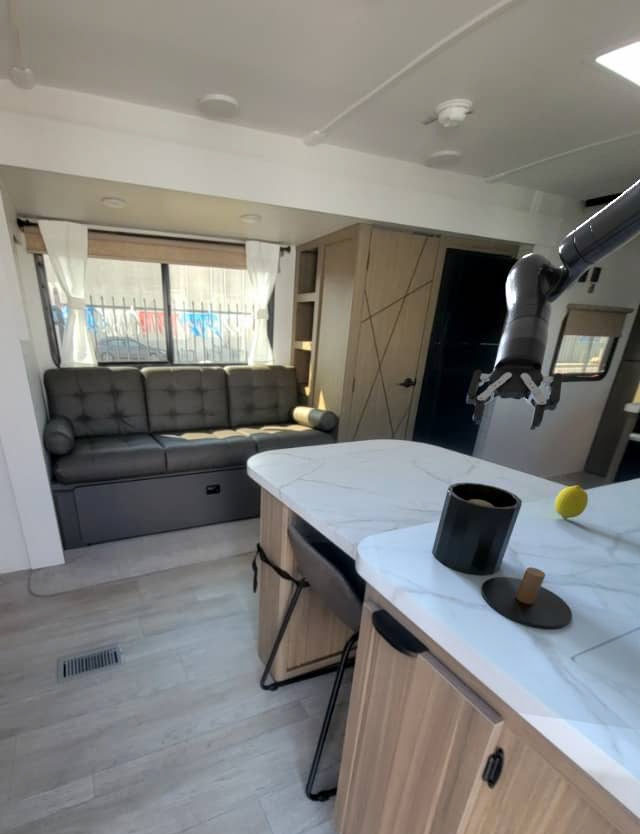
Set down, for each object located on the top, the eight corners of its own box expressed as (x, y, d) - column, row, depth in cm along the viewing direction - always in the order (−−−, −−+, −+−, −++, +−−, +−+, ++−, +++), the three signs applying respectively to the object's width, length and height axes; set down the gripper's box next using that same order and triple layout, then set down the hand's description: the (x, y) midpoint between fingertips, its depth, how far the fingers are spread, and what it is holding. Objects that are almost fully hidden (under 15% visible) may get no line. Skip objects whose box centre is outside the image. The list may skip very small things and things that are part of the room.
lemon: (546, 517, 91) (558, 484, 87) (554, 511, 94) (566, 479, 90) (575, 526, 87) (589, 492, 83) (582, 519, 90) (596, 486, 87)
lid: (545, 587, 67) (558, 555, 64) (586, 637, 56) (604, 601, 53) (469, 579, 68) (479, 547, 65) (496, 626, 58) (509, 591, 55)
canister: (485, 548, 78) (505, 485, 72) (508, 581, 68) (534, 511, 62) (425, 542, 79) (441, 480, 73) (440, 574, 69) (458, 505, 64)
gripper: (481, 334, 75) (462, 409, 72) (574, 335, 69) (559, 416, 65) (476, 361, 82) (459, 431, 78) (561, 364, 76) (547, 440, 72)
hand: (505, 424), depth 72 cm, fingers open, 8 cm apart
